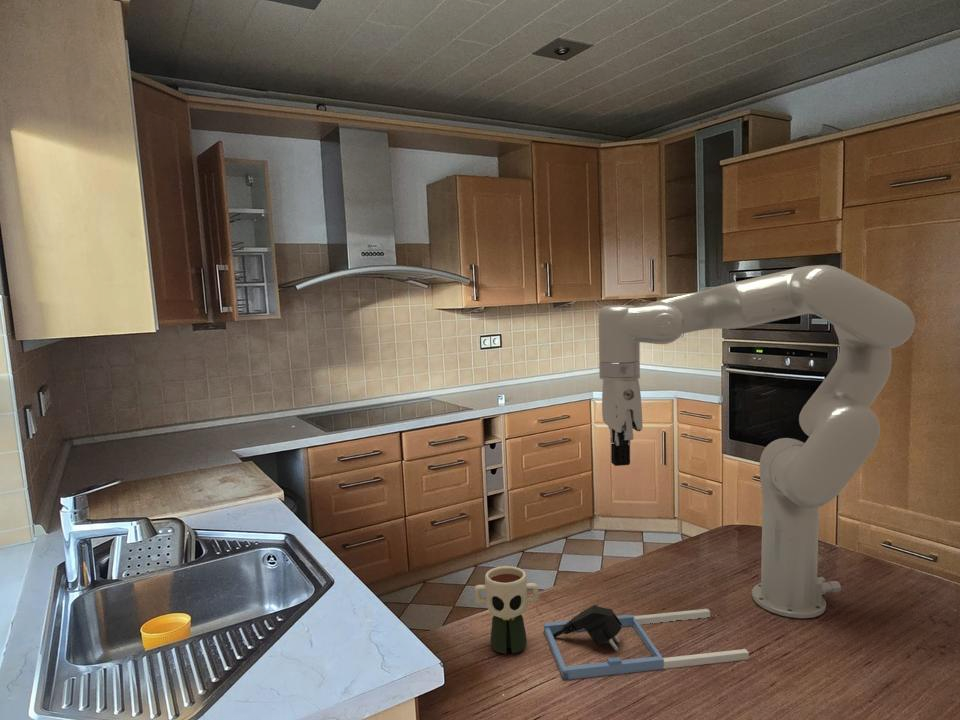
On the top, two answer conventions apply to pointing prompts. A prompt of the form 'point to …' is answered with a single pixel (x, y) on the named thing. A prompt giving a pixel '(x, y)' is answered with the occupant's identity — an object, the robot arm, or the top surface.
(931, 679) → the top surface
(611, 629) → the power plug
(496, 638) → the character mug
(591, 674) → the blue cream pronged frame
